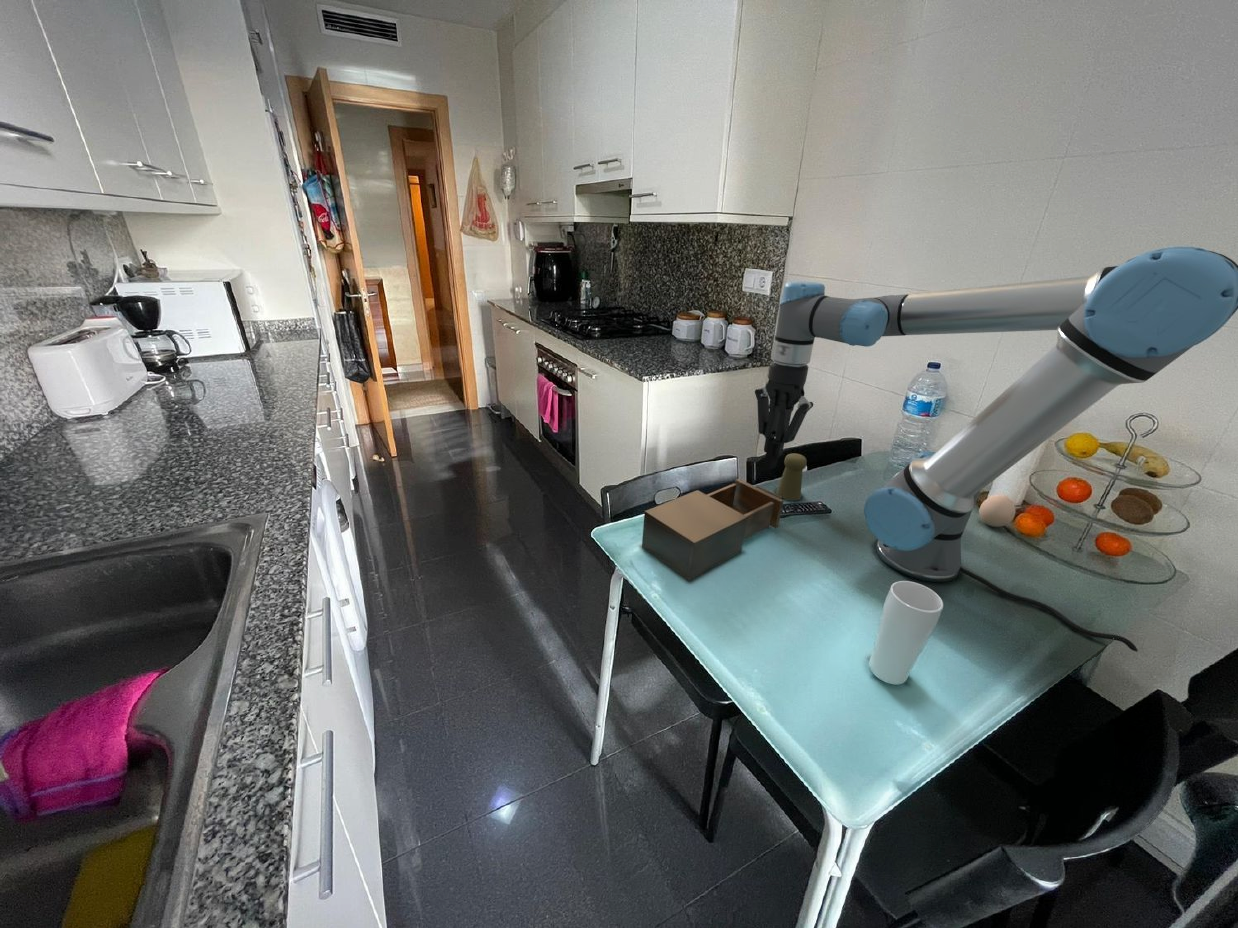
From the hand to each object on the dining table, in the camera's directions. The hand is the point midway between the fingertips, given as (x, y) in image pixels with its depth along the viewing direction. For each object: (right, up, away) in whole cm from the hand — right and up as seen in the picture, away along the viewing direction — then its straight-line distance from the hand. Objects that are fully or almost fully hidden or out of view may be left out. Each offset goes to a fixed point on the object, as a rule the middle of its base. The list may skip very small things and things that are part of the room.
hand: (770, 467), depth 111 cm
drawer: (-6, -12, +1) cm, 14 cm away
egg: (+54, -14, +7) cm, 57 cm away
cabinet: (-19, -17, -8) cm, 27 cm away
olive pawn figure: (+9, -7, +16) cm, 20 cm away
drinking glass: (+7, -31, -35) cm, 47 cm away
